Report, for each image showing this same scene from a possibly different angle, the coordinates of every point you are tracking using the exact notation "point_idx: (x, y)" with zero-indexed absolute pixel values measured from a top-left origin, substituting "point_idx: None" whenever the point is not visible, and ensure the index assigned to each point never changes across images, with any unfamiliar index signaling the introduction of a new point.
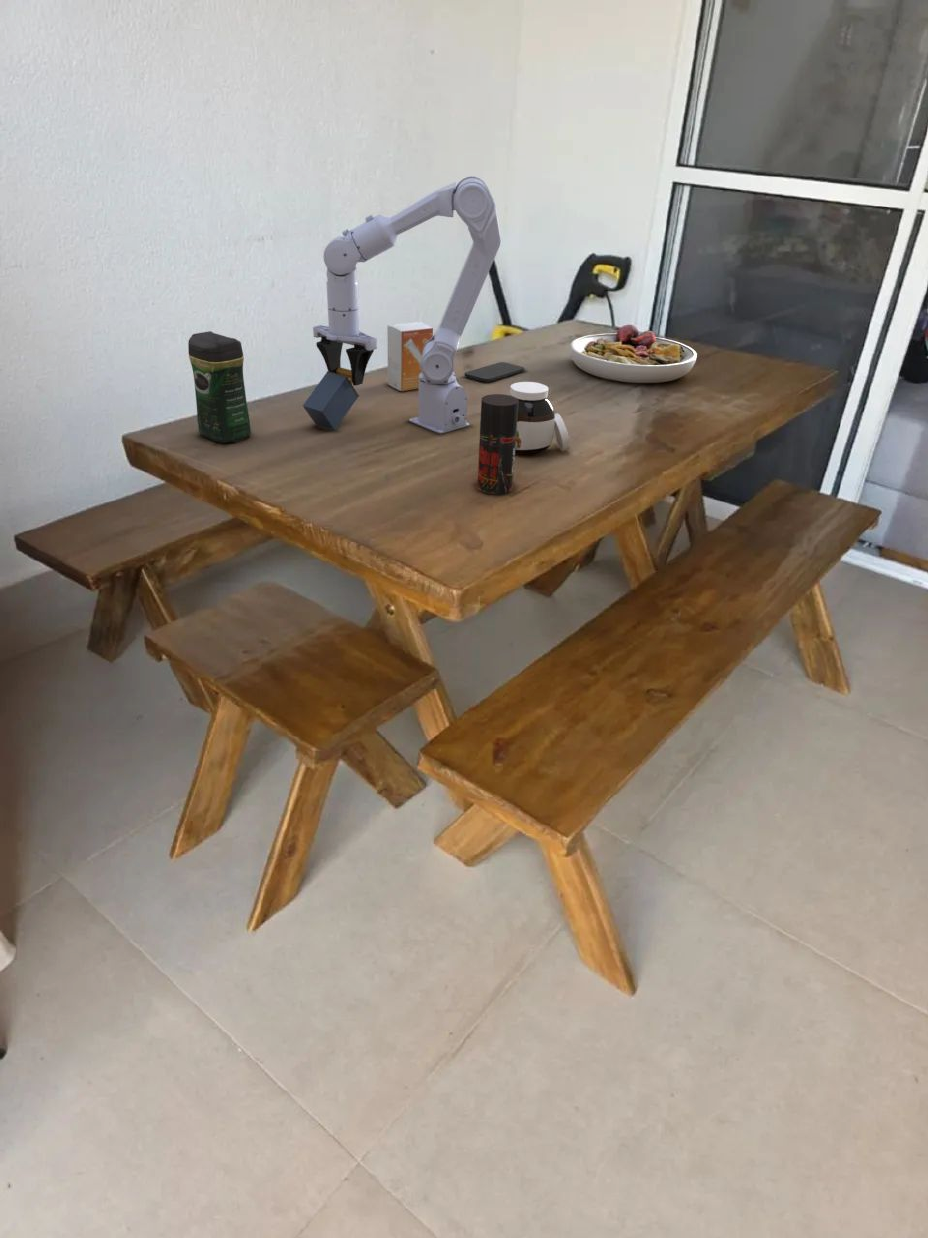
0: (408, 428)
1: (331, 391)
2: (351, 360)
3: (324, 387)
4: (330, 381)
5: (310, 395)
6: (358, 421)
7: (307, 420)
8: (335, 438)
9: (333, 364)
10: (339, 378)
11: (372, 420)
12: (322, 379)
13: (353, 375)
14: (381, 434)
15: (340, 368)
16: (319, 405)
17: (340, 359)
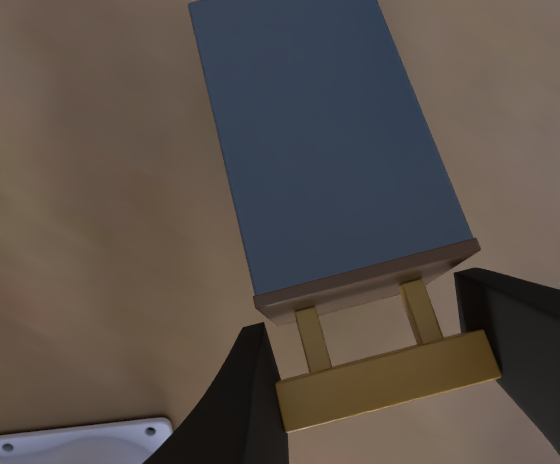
0: (106, 380)
1: (255, 136)
2: (205, 442)
3: (345, 130)
4: (349, 192)
5: (384, 30)
6: None
7: (427, 86)
8: (141, 61)
9: (522, 345)
10: (300, 255)
11: (261, 318)
12: (434, 168)
13: (234, 357)
14: (92, 262)
15: (474, 371)
16: (241, 19)
17: (544, 435)
